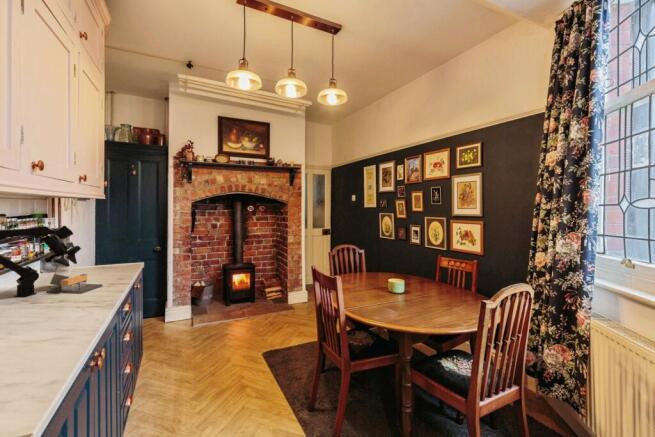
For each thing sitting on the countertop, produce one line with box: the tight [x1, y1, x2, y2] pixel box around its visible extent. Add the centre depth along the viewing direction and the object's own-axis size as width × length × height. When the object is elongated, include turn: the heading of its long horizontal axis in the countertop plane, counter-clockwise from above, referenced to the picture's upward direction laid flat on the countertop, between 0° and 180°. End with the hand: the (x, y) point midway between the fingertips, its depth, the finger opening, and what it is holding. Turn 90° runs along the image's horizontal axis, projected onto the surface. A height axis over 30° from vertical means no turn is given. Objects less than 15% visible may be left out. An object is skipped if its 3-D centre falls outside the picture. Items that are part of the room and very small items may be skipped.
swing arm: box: [61, 273, 88, 286], centre depth 178 cm, size 16×4×3 cm, turn 1°
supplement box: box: [49, 263, 75, 287], centre depth 181 cm, size 7×7×13 cm
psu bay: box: [46, 280, 103, 294], centre depth 178 cm, size 16×20×4 cm
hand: (72, 264), depth 180 cm, fingers open, 5 cm apart
